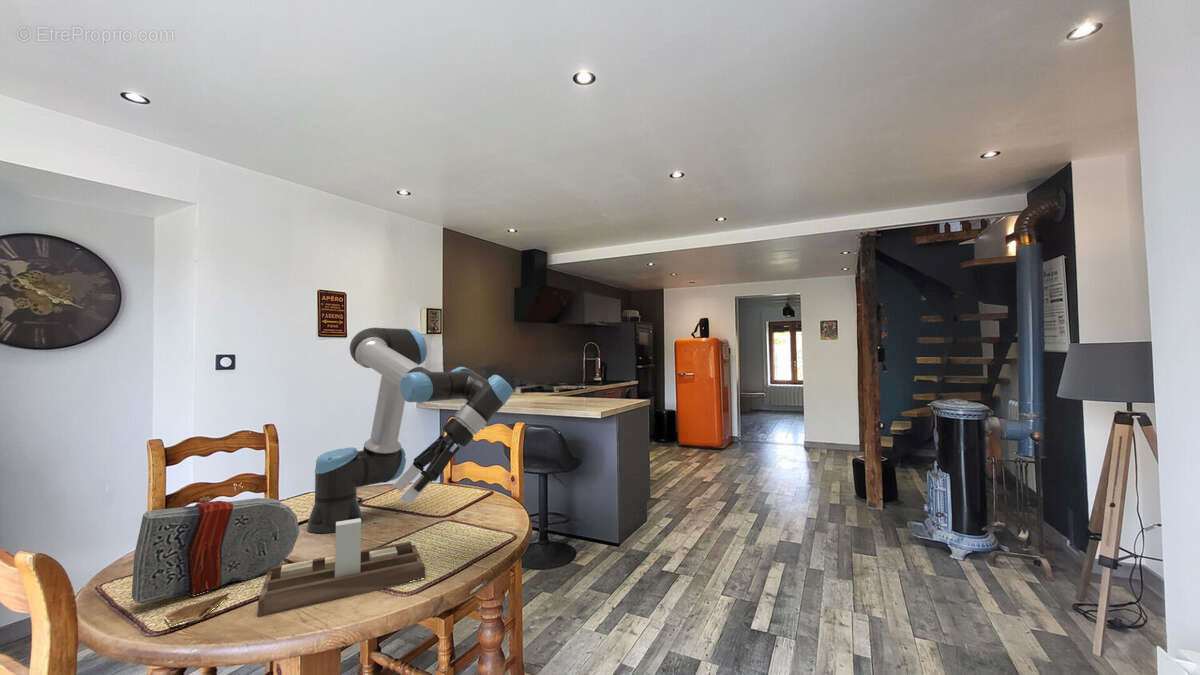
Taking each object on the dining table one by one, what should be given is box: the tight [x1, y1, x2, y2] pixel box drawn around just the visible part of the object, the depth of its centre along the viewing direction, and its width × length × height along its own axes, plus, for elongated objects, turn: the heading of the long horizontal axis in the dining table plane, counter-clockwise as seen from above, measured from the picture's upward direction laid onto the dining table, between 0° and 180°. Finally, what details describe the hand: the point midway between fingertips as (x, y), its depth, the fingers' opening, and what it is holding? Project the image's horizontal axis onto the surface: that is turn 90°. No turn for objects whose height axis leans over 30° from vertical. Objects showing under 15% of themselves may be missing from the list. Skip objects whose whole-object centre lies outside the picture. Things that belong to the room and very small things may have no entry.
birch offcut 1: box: [280, 559, 313, 578], centre depth 107 cm, size 4×6×5 cm, turn 120°
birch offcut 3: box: [369, 547, 397, 561], centre depth 116 cm, size 4×6×4 cm, turn 120°
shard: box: [164, 592, 230, 626], centre depth 97 cm, size 11×8×2 cm
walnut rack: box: [257, 541, 426, 617], centre depth 110 cm, size 16×32×4 cm, turn 120°
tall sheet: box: [334, 518, 362, 578], centre depth 107 cm, size 3×5×15 cm, turn 120°
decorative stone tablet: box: [130, 497, 300, 605], centre depth 110 cm, size 19×6×30 cm
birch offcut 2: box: [325, 555, 335, 570], centre depth 112 cm, size 4×7×5 cm, turn 120°
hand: (400, 494), depth 112 cm, fingers open, 13 cm apart
